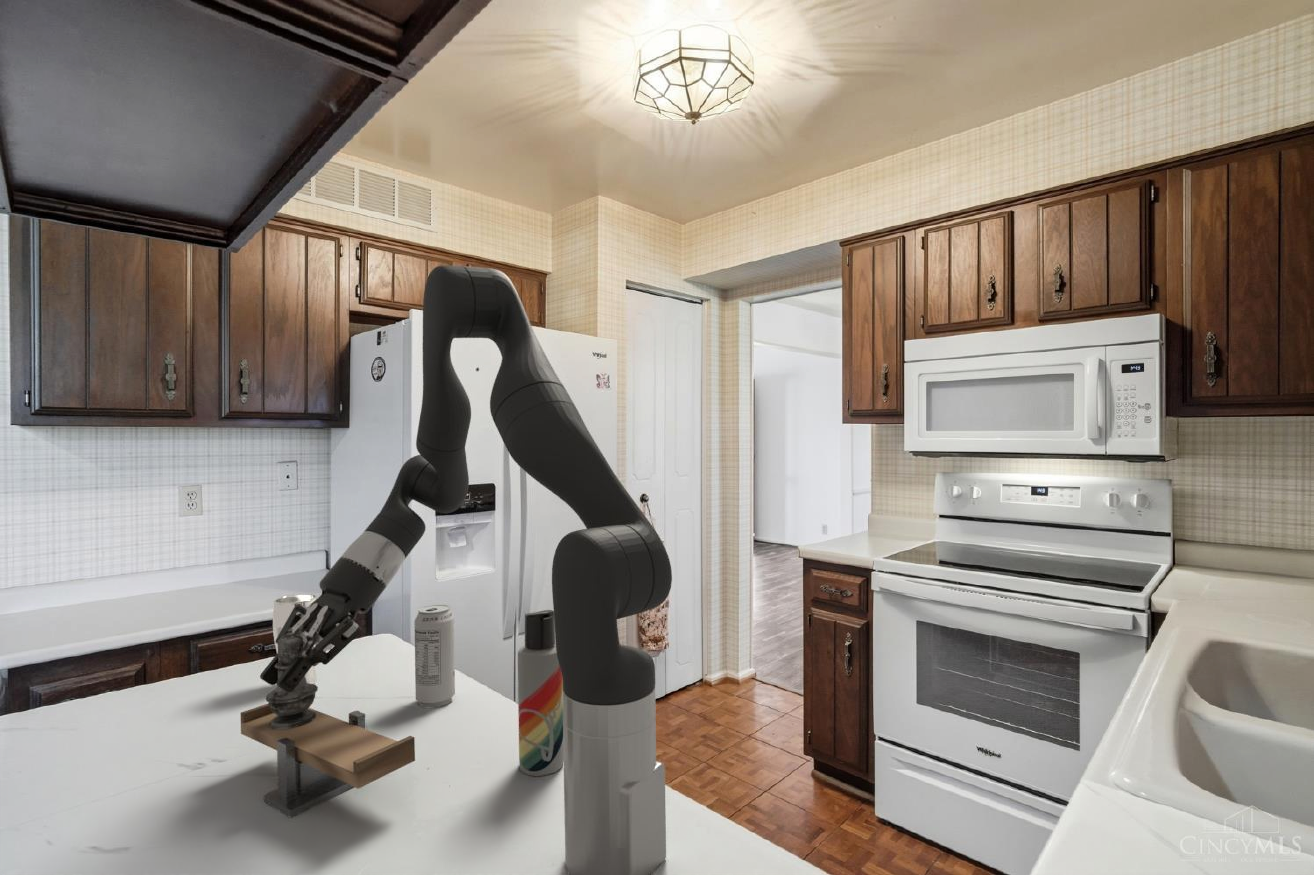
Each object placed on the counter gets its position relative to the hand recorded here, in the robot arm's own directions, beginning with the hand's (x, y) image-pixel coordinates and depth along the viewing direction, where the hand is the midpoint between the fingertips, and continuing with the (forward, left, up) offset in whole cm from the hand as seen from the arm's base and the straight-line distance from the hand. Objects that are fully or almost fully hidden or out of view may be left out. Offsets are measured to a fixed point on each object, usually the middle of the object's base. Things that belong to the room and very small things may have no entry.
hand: (274, 684), depth 81 cm
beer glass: (+30, -18, -12) cm, 37 cm away
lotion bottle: (-26, -20, -12) cm, 35 cm away
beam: (-7, -2, -7) cm, 10 cm away
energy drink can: (+3, -26, -12) cm, 29 cm away
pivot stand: (-7, -2, -12) cm, 14 cm away
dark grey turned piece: (0, -2, -5) cm, 6 cm away
